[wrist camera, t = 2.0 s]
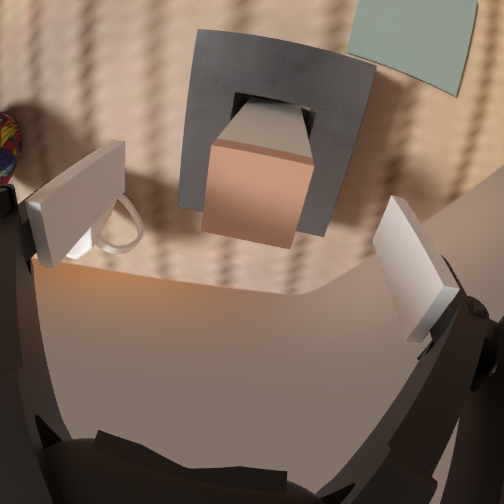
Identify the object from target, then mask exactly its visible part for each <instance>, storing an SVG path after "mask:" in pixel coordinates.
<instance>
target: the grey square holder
mask: <svg viewBox="0 0 504 504" xmlns="http://www.w3.org/2000/svg"><path fill="white" fill-rule="evenodd" d="M376 68H377V66H375V65H373V64H370V63H367V62H364V61H361V60H357V59H354V58H351V57H348V56H344V55H341V54H338V53H334V52H330V51H327V50H323V49H319V48H315V47H311V46H307V45H302V44H298V43H293V42H289V41H284V40H279V39H273V38H268V37H262V36H255V35H249V34H241V33H233V32H225V31H215V30H203V29H198V31H197V37H196V43H195V49H194V56H193V63H192V69H191V76H190V84H189V91H188V99H187V108H186V116H185V126H184V135H183V146H182V157H181V169H180V182H179V196H178V207H181V208H186V209H191V210H196V211H202V212H203V211H204V201H205V192H206V184H207V176H208V167H209V159H210V152H211V145H212V144H213V143H214V141H215V140H216V139H217V137H218V136H219V135H220V134H221V133H222V131H223V130H224V129H225V128H226V126H227V125H228V124H229V123H230V122H231V120H232V119H233V118H234V117H235V115H236V114H237V113H238V111H239V105H240V99H241V94H242V93H245V94H251V95H257V96H262V97H267V98H272V99H277V100H282V101H287V102H291V103H296V104H300V105H304V106H308V107H311V110H310V114H309V118H308V122H307V126H306V131H307V135H308V140H309V144H310V149H311V153H312V158H313V162H314V169H313V173H312V177H311V180H310V184H309V187H308V191H307V194H306V198H305V201H304V204H303V208H302V211H301V215H300V218H299V221H298V225H297V228H296V231H299V232H303V233H308V234H312V235H317V236H321V237H324V235H325V232H326V230H327V227H328V224H329V221H330V218H331V215H332V213H333V210H334V207H335V204H336V201H337V198H338V195H339V192H340V189H341V186H342V183H343V180H344V177H345V174H346V171H347V168H348V164H349V161H350V158H351V155H352V152H353V148H354V145H355V142H356V139H357V135H358V132H359V129H360V125H361V122H362V119H363V115H364V112H365V108H366V105H367V101H368V97H369V94H370V90H371V86H372V83H373V79H374V75H375V71H376Z"/></svg>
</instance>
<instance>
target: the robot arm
mask: <svg viewBox="0 0 504 504" xmlns="http://www.w3.org/2000/svg"><path fill="white" fill-rule="evenodd" d="M124 192H125V141H118V140H111V141H110V142H108V143H106V144H105V145H103V146H101V147H100V148H98V149H97V150H95V151H93V152H92V153H90V154H89V155H87V156H86V157H84V158H83V159H81V160H80V161H78V162H77V163H75V164H74V165H72V166H71V167H69V168H68V169H66V170H65V171H64V172H62V173H61V174H59V175H58V176H57V177H55V178H54V179H52V180H50V181H48V182H47V183H45V184H44V185H42V186H41V187H40V189H37V190H36V191H35V192H34V193H32V194H31V195H29V196H28V197H27V198H26V199H24V200H23V201H22V202H21V203H19V204H18V203H17V198H16V193H15V188H14V185H12V184H2V185H0V504H429V503H430V501H431V499H432V497H433V496H434V493H435V491H436V489H437V481H436V480H435V479H433V478H432V474H433V472H434V470H435V468H436V466H437V464H438V462H439V460H440V458H441V456H442V454H443V452H444V450H445V448H446V446H447V444H448V442H449V439H450V437H451V435H452V433H453V430H454V428H455V426H456V423H457V421H458V418H459V416H460V418H459V424H458V431H457V436H456V441H455V447H454V451H453V456H452V461H451V465H450V470H449V473H448V478H447V481H446V485H445V488H444V492H443V496H442V499H441V502H440V504H504V316H503V317H502V319H501V320H500V321H499V323H497V322H495V321H493V320H491V319H489V313H488V311H487V309H486V308H485V306H484V305H483V304H482V303H481V302H480V301H479V300H477V299H475V298H473V297H471V296H467V295H466V293H465V291H464V289H463V287H462V286H461V284H460V282H459V280H458V278H456V277H457V276H456V275H455V273H454V272H453V270H452V268H451V266H450V264H449V263H448V261H447V260H446V259H445V258H444V257H443V256H442V255H441V254H440V253H439V251H438V249H437V248H436V246H435V244H434V243H433V241H432V240H431V238H430V237H429V235H428V233H427V232H426V230H425V229H424V227H423V225H422V224H421V222H420V221H419V219H418V218H417V216H416V215H415V213H414V212H413V210H412V209H411V207H410V206H409V205H408V203H407V202H406V200H405V199H403V198H400V197H397V196H393V195H391V197H390V200H389V202H388V205H387V207H386V210H385V212H384V215H383V217H382V220H381V222H380V224H379V227H378V229H377V231H376V234H375V236H374V238H373V240H372V242H373V245H374V247H375V250H376V253H377V255H378V258H379V261H380V263H381V266H382V269H383V272H384V275H385V278H386V281H387V284H388V287H389V290H390V293H391V296H392V299H393V302H394V305H395V308H396V312H397V315H398V318H399V321H400V325H401V328H402V331H403V335H404V339H405V341H409V342H418V343H421V342H422V341H423V340H424V339H425V337H426V336H427V335H428V333H429V332H430V334H431V337H432V341H431V342H430V343H429V345H428V346H427V347H426V348H425V350H424V351H423V352H422V353H421V354H420V356H419V357H418V358H417V359H418V360H419V362H418V363H417V365H416V367H415V369H414V370H413V372H412V374H411V375H410V377H409V378H408V380H407V382H406V383H405V385H404V387H403V388H402V390H401V391H400V393H399V394H398V396H397V397H396V399H395V400H394V402H393V403H392V405H391V406H390V408H389V409H388V411H387V412H386V413H385V415H384V416H383V418H382V419H381V420H380V422H379V423H378V425H377V426H376V427H375V429H374V430H373V431H372V433H371V434H370V435H369V437H368V438H367V439H366V441H365V442H364V443H363V444H362V446H361V447H360V448H359V450H358V451H357V452H356V453H355V454H354V456H353V457H352V458H351V459H350V460H349V461H348V463H347V464H346V465H345V466H344V467H343V469H342V470H341V471H340V472H339V473H338V474H337V475H336V476H335V477H334V478H333V479H332V480H331V481H330V482H328V483H327V484H326V485H325V486H323V487H322V488H321V489H320V490H319V491H318V492H317V493H316V494H315V495H314V494H313V493H312V492H310V491H309V490H307V489H305V488H303V487H302V486H299V485H297V484H295V483H293V482H290V481H287V471H276V470H266V469H257V468H249V467H241V466H238V467H224V468H204V469H203V468H202V469H190V468H186V467H183V466H181V465H179V464H177V463H175V462H173V461H171V460H169V459H167V458H165V457H163V456H161V455H159V454H157V453H156V452H154V451H152V450H150V449H149V448H147V447H145V446H143V445H141V444H138V443H135V442H132V441H129V440H125V439H123V438H120V437H117V436H114V435H111V434H108V433H105V432H103V431H100V430H98V433H97V435H96V438H95V439H93V438H90V439H89V438H88V439H87V438H81V439H72V438H71V436H70V433H69V432H68V430H67V428H66V426H65V424H64V422H63V420H62V417H61V415H60V411H59V408H58V405H57V401H56V398H55V394H54V390H53V387H52V383H51V379H50V375H49V370H48V366H47V361H46V357H45V352H44V347H43V341H42V336H41V330H40V324H39V317H38V310H37V302H36V293H35V283H34V273H33V272H34V271H33V264H32V260H31V258H32V257H33V255H34V254H35V253H37V256H38V260H39V263H40V265H42V266H45V267H49V268H52V269H55V268H56V267H57V266H58V264H59V263H60V262H61V261H62V260H63V258H64V257H65V256H66V255H67V254H68V252H69V251H70V250H71V249H72V248H73V247H74V245H75V244H76V243H77V242H78V241H79V240H80V239H81V237H82V236H83V235H84V234H85V233H86V232H87V231H88V230H89V229H90V227H91V226H92V225H93V224H94V223H95V222H96V221H97V220H98V219H99V218H100V217H101V216H102V214H103V213H104V212H105V211H106V210H107V209H108V208H109V207H110V206H111V205H112V204H113V203H114V202H115V201H116V200H117V199H118V198H119V197H120V196H121V195H122V194H123V193H124ZM494 371H495V372H494ZM493 372H494V373H493Z"/></svg>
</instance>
